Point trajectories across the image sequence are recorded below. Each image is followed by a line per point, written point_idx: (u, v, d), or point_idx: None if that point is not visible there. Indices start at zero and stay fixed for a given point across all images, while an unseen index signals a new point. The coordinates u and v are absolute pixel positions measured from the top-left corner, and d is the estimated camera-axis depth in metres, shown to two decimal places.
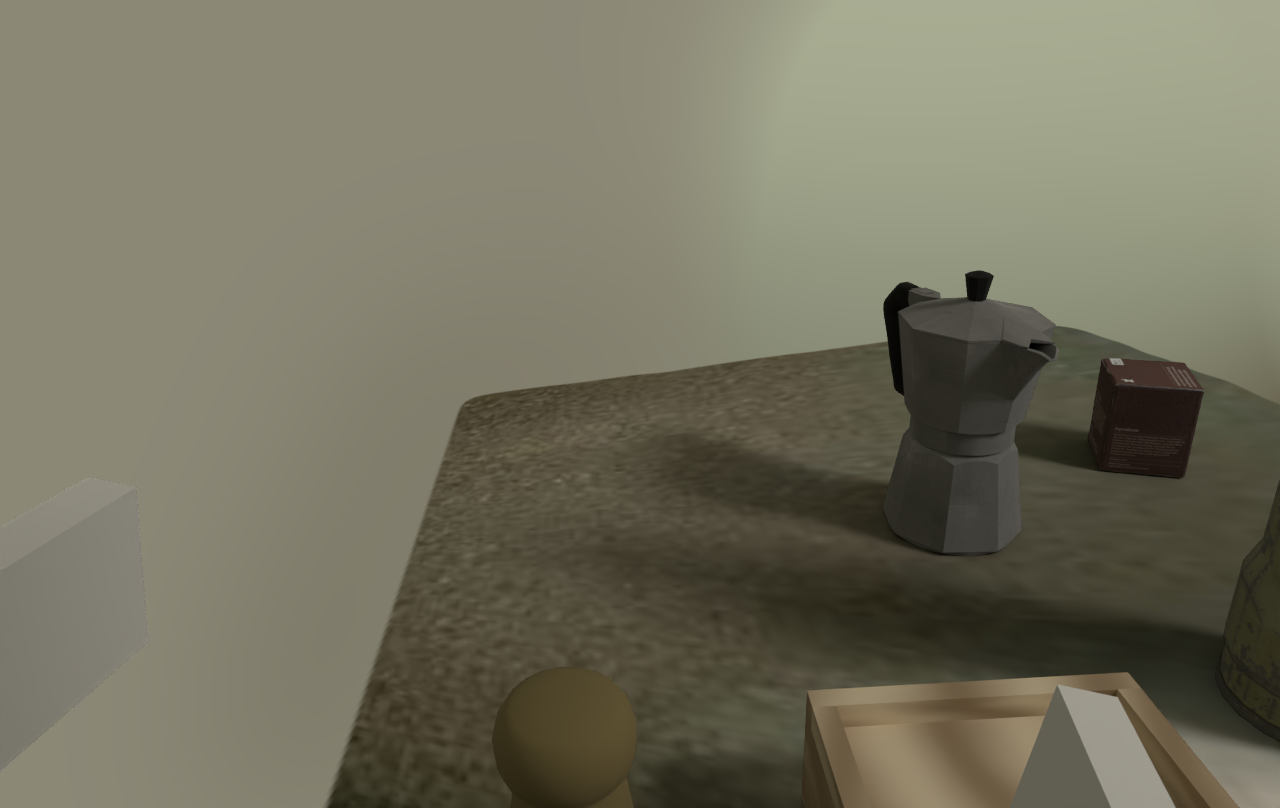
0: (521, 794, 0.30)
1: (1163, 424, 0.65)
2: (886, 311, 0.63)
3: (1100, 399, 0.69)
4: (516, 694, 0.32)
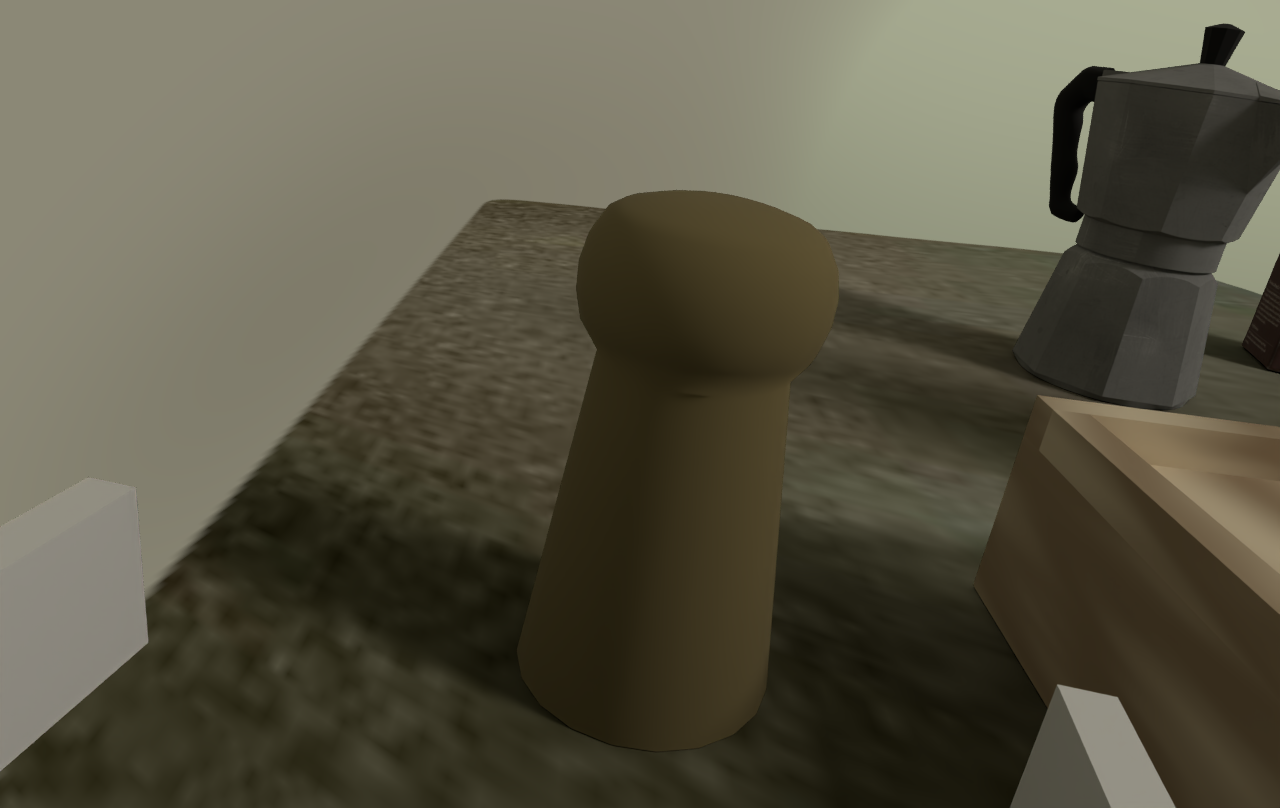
0: (628, 336, 0.16)
1: None
2: (1060, 106, 0.50)
3: (1278, 288, 0.56)
4: (634, 194, 0.18)
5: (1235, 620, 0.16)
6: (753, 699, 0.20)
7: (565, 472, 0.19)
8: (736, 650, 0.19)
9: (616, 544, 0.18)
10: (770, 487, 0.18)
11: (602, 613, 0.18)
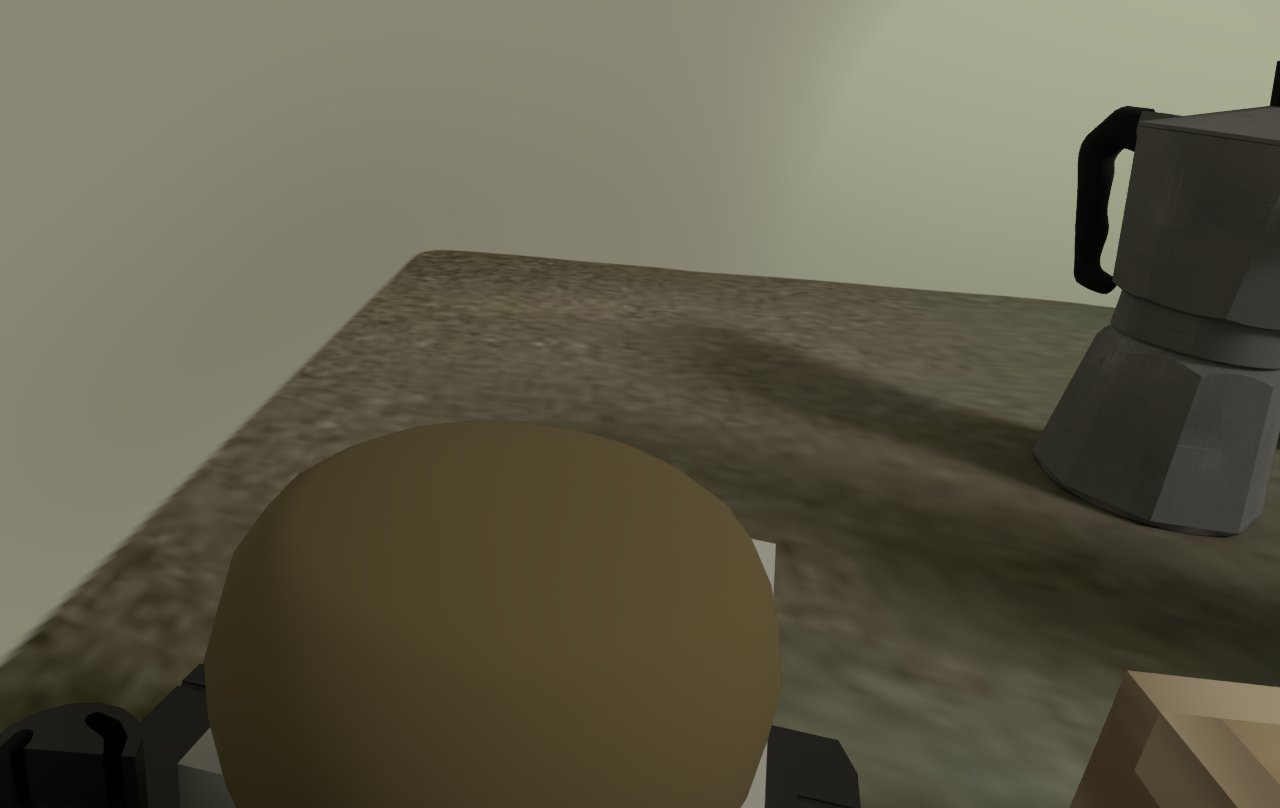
0: None
1: None
2: (1086, 153, 0.41)
3: None
4: (351, 454, 0.08)
5: None
6: None
7: None
8: None
9: None
10: None
11: None
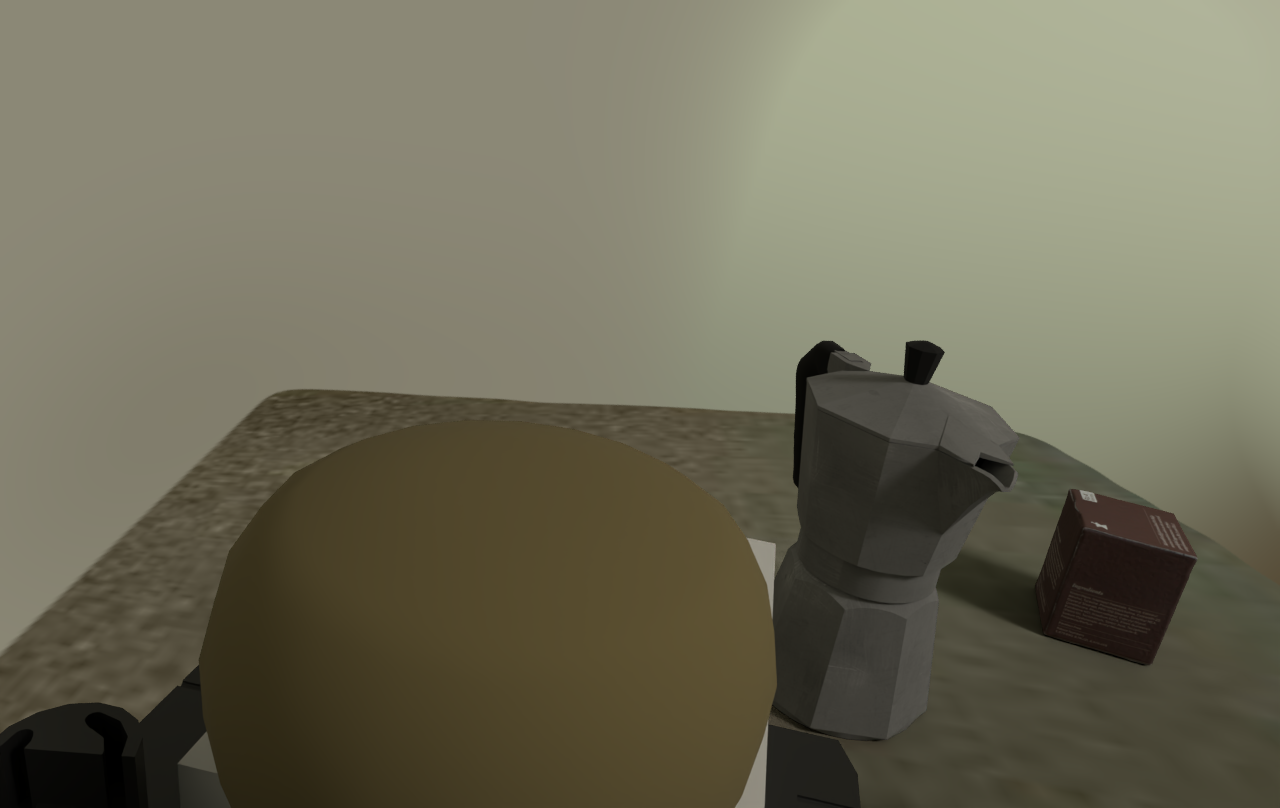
0: None
1: (1136, 592, 0.49)
2: (799, 375, 0.46)
3: (1059, 541, 0.53)
4: (346, 453, 0.08)
5: None
6: None
7: None
8: None
9: None
10: None
11: None
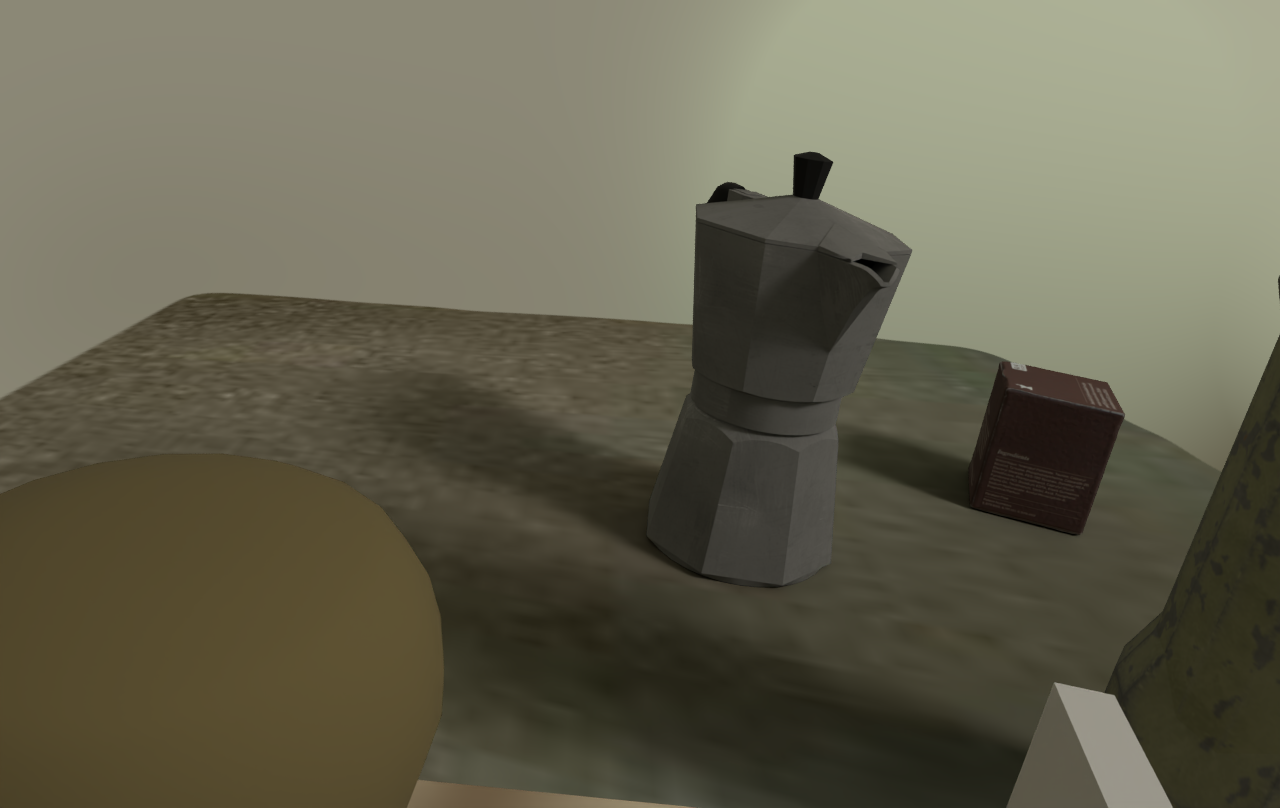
0: None
1: (1063, 455, 0.46)
2: None
3: (988, 413, 0.50)
4: None
5: None
6: None
7: None
8: None
9: None
10: None
11: None
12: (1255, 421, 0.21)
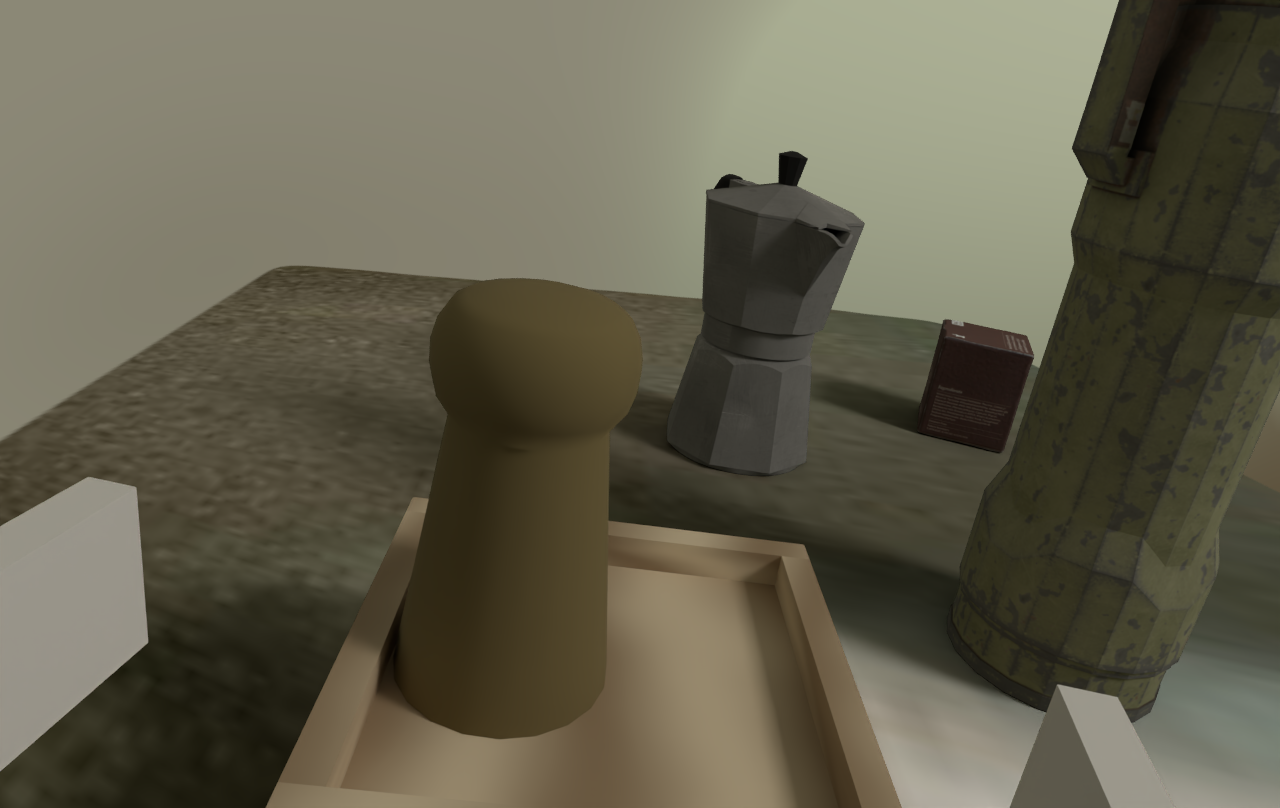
0: (462, 403, 0.20)
1: (987, 389, 0.60)
2: None
3: (933, 359, 0.64)
4: (477, 284, 0.22)
5: None
6: (586, 695, 0.24)
7: (427, 508, 0.23)
8: (565, 655, 0.23)
9: (461, 569, 0.21)
10: (591, 521, 0.22)
11: (452, 625, 0.22)
12: (1058, 319, 0.34)
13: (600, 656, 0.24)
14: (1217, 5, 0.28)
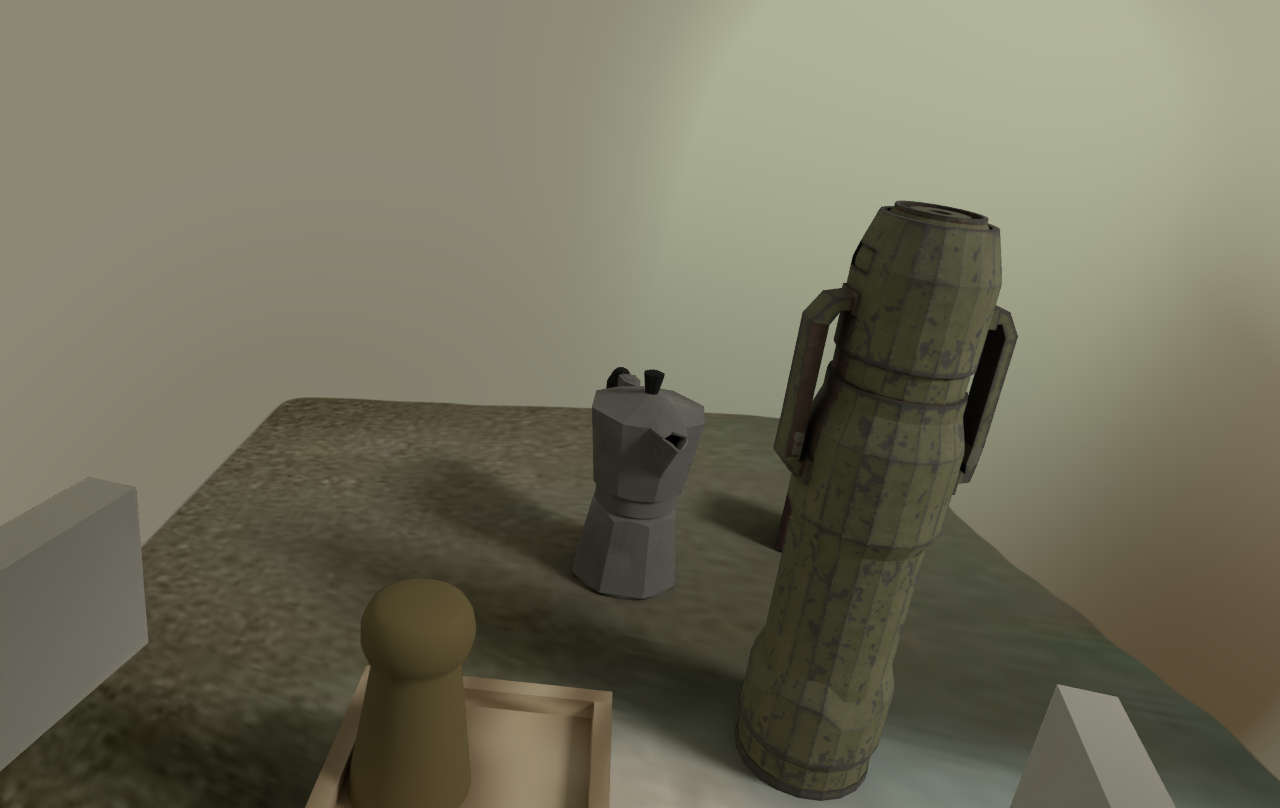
0: (375, 663, 0.39)
1: None
2: (607, 388, 0.76)
3: None
4: (386, 590, 0.41)
5: None
6: (453, 803, 0.43)
7: (363, 703, 0.42)
8: (438, 784, 0.41)
9: (379, 742, 0.40)
10: (449, 713, 0.41)
11: (375, 770, 0.41)
12: (786, 538, 0.53)
13: (462, 780, 0.43)
14: (840, 381, 0.47)
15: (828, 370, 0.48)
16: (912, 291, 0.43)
